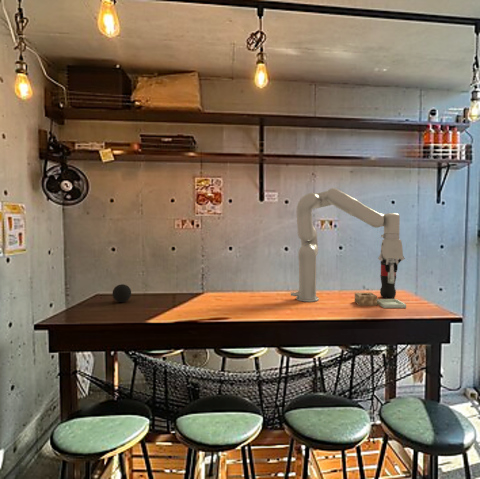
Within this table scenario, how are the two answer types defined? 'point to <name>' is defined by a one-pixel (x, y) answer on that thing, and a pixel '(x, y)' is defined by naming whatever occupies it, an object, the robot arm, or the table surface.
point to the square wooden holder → (366, 299)
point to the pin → (391, 271)
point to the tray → (391, 303)
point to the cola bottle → (387, 284)
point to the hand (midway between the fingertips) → (391, 271)
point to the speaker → (121, 293)
